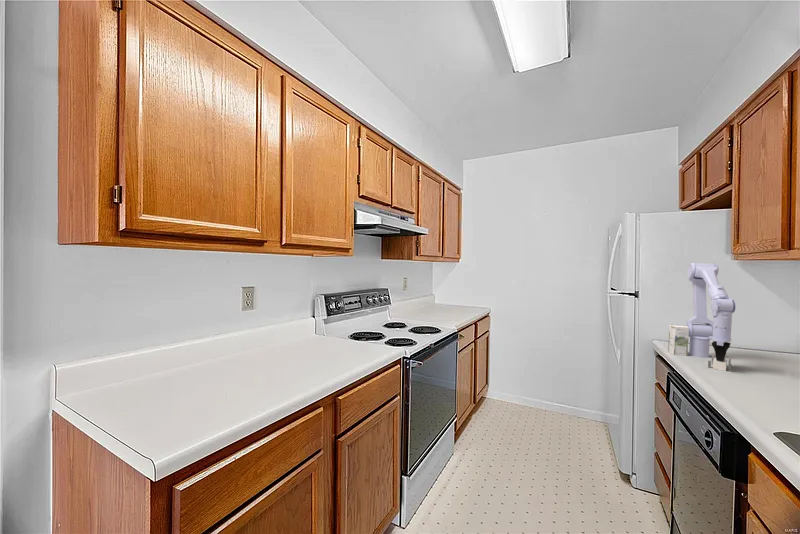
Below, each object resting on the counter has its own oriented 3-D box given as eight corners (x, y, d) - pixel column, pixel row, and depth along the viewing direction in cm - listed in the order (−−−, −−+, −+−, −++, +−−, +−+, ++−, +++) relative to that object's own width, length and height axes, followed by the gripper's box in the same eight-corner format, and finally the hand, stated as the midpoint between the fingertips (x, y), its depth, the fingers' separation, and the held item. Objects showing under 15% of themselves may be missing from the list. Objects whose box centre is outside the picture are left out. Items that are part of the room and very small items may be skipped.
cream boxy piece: (712, 363, 161) (712, 353, 160) (730, 366, 156) (731, 356, 156) (711, 364, 158) (711, 354, 158) (730, 367, 154) (730, 357, 154)
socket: (708, 367, 154) (708, 360, 154) (731, 371, 149) (731, 364, 149) (707, 367, 153) (708, 361, 153) (731, 372, 148) (731, 365, 148)
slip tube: (714, 364, 158) (715, 349, 157) (727, 366, 155) (727, 351, 155) (712, 368, 152) (713, 353, 152) (725, 370, 149) (726, 355, 149)
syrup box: (681, 354, 177) (682, 324, 176) (687, 357, 171) (689, 326, 170) (667, 353, 178) (669, 323, 177) (673, 356, 172) (675, 326, 172)
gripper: (710, 324, 160) (709, 354, 161) (707, 328, 150) (706, 361, 150) (732, 326, 155) (731, 358, 156) (731, 331, 145) (729, 365, 146)
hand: (720, 360), depth 153 cm, fingers closed on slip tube, 3 cm apart
